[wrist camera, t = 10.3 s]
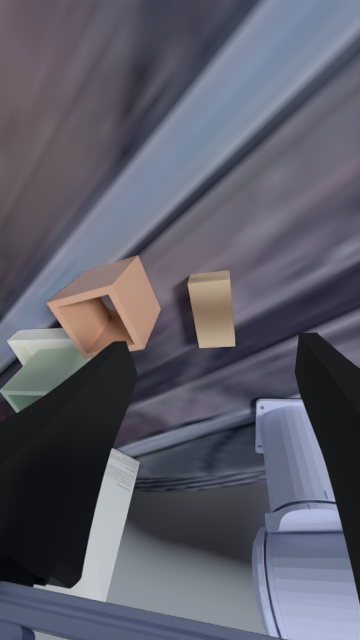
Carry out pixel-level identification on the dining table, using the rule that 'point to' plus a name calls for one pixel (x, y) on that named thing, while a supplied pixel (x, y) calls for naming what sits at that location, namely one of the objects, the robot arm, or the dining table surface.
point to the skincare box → (105, 529)
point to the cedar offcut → (212, 308)
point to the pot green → (41, 375)
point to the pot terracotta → (96, 318)
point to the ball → (108, 302)
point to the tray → (38, 342)
